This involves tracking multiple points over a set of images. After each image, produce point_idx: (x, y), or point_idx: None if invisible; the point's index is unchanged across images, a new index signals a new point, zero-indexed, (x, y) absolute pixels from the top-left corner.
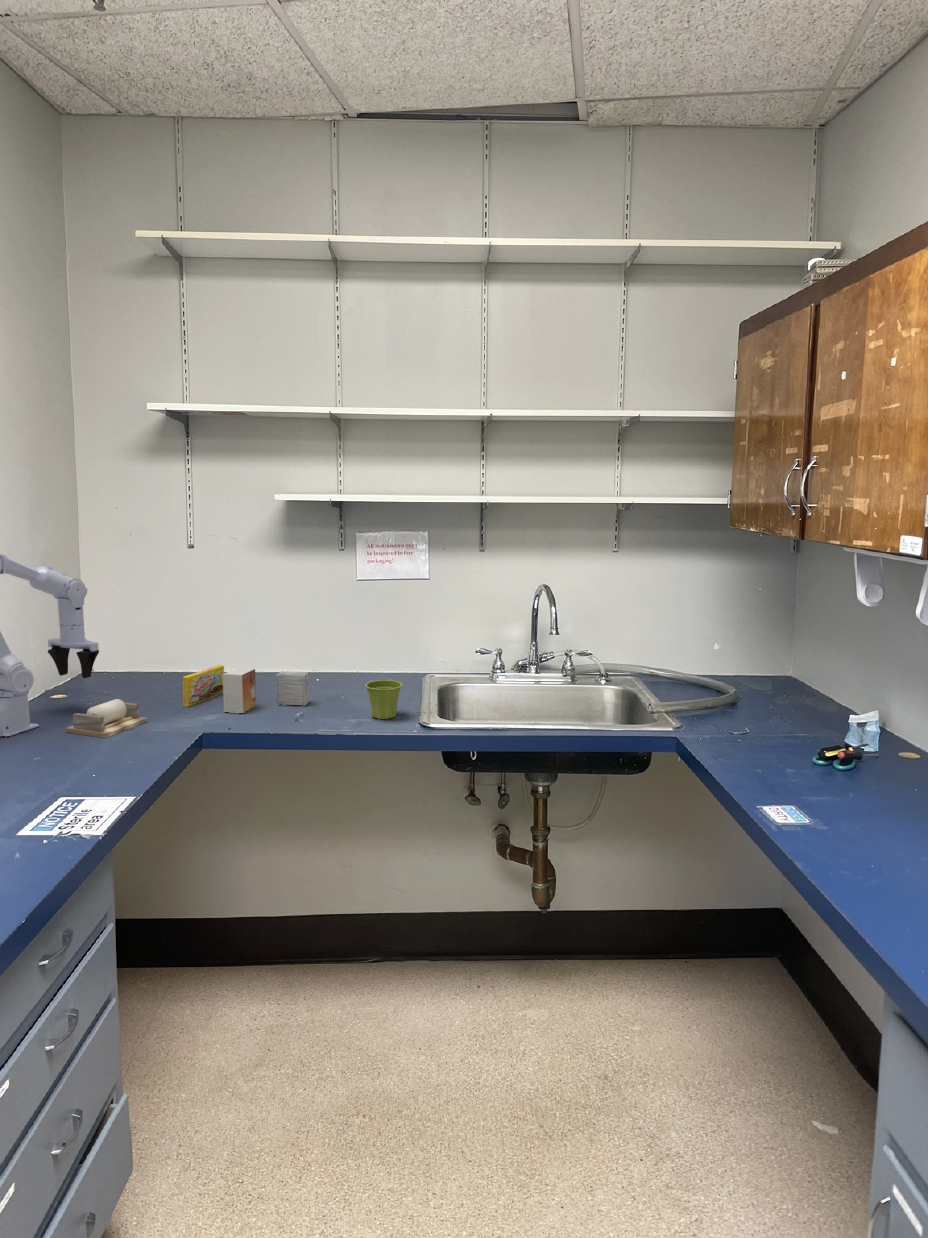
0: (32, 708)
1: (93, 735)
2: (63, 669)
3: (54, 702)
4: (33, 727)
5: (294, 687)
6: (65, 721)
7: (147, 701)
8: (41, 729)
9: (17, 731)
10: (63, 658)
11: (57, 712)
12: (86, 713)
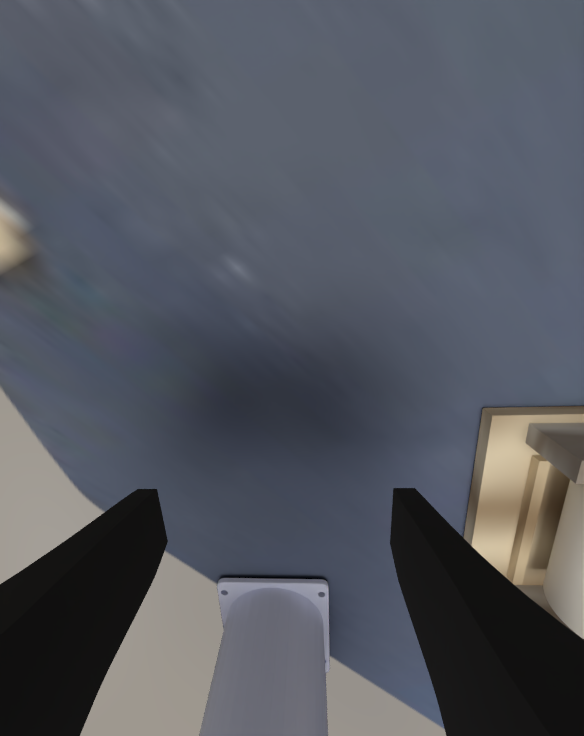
0: (92, 432)
1: None
2: (137, 560)
3: (76, 328)
4: (328, 600)
5: None
6: (358, 508)
7: (508, 78)
8: (354, 589)
9: (325, 645)
10: (45, 683)
11: (230, 437)
12: (564, 622)
